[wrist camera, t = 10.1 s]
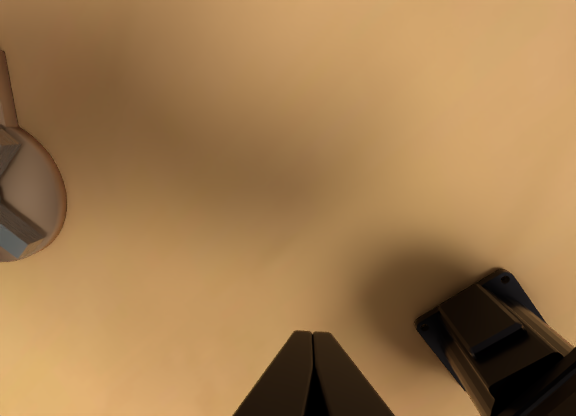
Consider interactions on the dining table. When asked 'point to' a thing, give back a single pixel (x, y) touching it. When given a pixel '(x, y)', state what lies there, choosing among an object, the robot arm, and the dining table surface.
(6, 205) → the stand
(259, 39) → the dining table surface
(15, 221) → the turnstile
